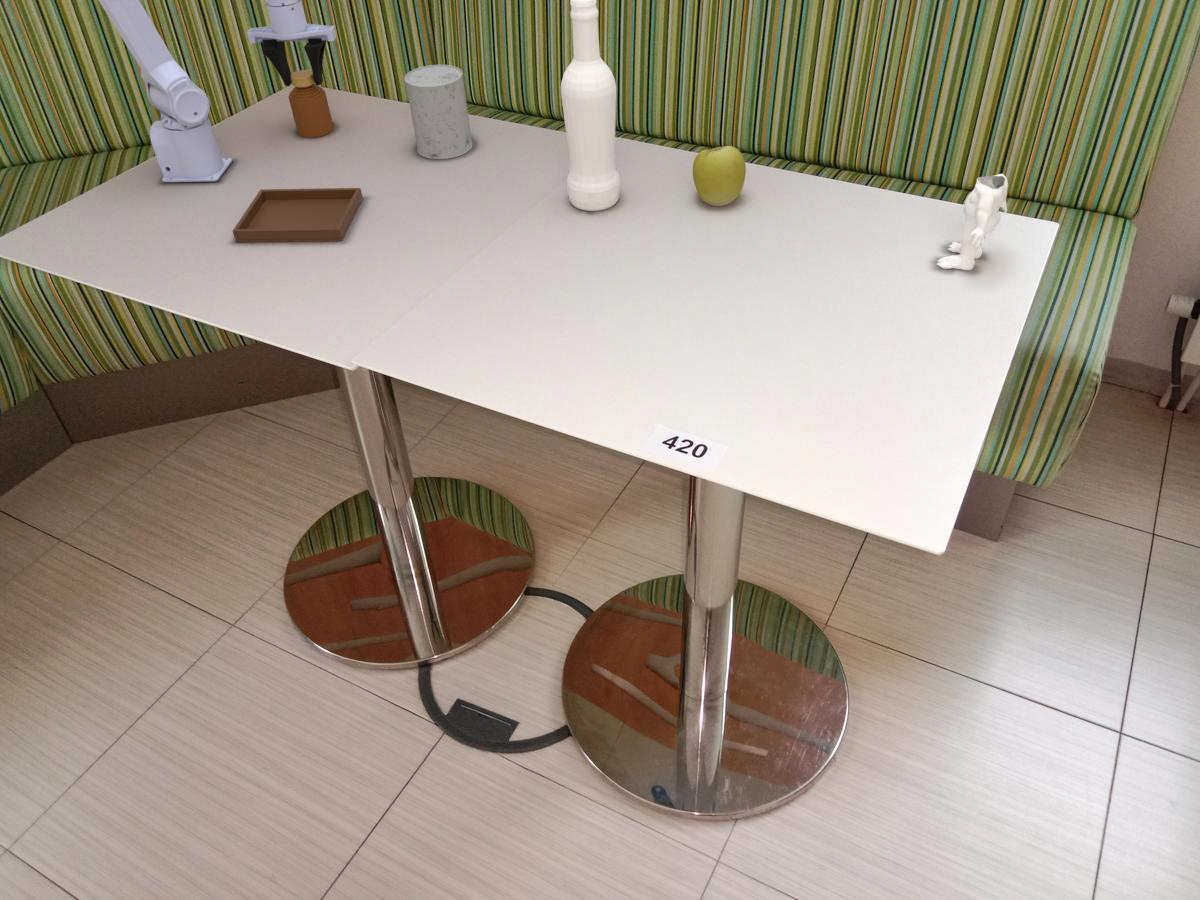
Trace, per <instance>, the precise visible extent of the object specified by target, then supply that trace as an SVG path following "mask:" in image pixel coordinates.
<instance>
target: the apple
mask: <svg viewBox="0 0 1200 900" xmlns="http://www.w3.org/2000/svg"><path fill="white" fill-rule="evenodd" d="M714 145H717V142H716V141H714ZM692 163H693V164H692V179H693V183H694V187H695V190H696V192H697V195H698V196H699V199H701V200H702V201H703V202H705V203H706V204H709V206H710V205H711V206H713V207H720V206H721V207H722V206H727V205H729V204H731V203H732V202H733V201H735V200H736V199H737V198H738V197H739V196H740V194H741V192H742V189H743V188H744V184H745V180H746V179H745V178H746V173H747V169H746V168H747V167H746V161H745V158H744V156H743V153H742V152H741V151H740V150H739V149H738V148H737V147H735V146H732V145H724V146H718V147H717V146H716V147H714V148H710V149H703V150H701V151H699V152H698V153H697V155H696V156H695V157H694V160H693V162H692Z"/></svg>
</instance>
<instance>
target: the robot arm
mask: <svg viewBox="0 0 1200 900" xmlns="http://www.w3.org/2000/svg"><path fill="white" fill-rule="evenodd" d="M97 1H98V2H99V4H100V6H101V7H102V9H103V10H104V12H105V13H106V14H107V16H108V18H109V20H110V21H111V23H112V25H113V26H114V28H115V29H116V31H117V32H118V34H119V36H120V37H121V39H122V41H123V42H124V44H125V46H126V47H127V48H128V51H129V52H130V54H131V56H132V57H133V58H134V60H135V62H136V63H137V64H138V66H139V68H140V77H141V79H142V81H143V82H144V85H145V89H146V95H147V99H148V101H149V103H150V104H151V105H152V107H153V108H155V109H156V110H158V111H159V113H160V120H155V121H153V122H152V124H151V126H150V131H149V135H150V144H151V147H152V149H153V152H154V155H155V157H156V160H157V163H158V165H159V168H160V172H161V174H162V178H161V181H162V183H196V182H197V183H200V182H201V183H202V182H203V183H204V182H206V183H207V182H208V183H209V182H217V181H219V179H220V178H221V177H222V175H223V174H224V173H225V172H226V170H227V169H228V168H229V166H230V165H231V164H232V162H233V157H222V154H221V151H220V148H219V146H218V142H217V139H216V135H215V133H214V129H213V127H212V124H211V120H210V118H209V114H210V108H211V104H210V103H211V102H210V100H209V99H210V98H209V97H208V95H207V94H206V92H205V91H204V90H203V89H201V88H200V87H199V86H198V85H196V84H195V83H194V82H193V81H192V79H191V78H190V76H189V75H188V73H187V72H186V71H185V70H184V69H183V68H182V66H180V64H179V63H178V62H177V61H176V60H175V59H174V57H173V55H172V54H171V52H170V50H169V48H168V47H167V45H166V44H165V42H164V40H163V38H162V36H161V34H160V33H159V32H158V30H157V29H156V27H155V24H153V21H152V20H151V18H150V17H149V14H148V13H147V11H146V9H145V8H144V7H143V5H142V3H141V2H140V0H97ZM264 2H265V6H266V9H267V13H268V17H269V19H270V20H269V21H270V25H266V26H261V27H260V26H259V27H250V28H249V29H248V30H247V31H246V34H247V38H248V41H249V44H257V43H262V47H261V52H262V53H263V55H264V56H265V57H266V58H267V59H268V60H269V61H270V62H271V64H272V65H273V66H274V68H275V69H276V71H277V73H278V74H279V76H280V78H281V80H282V82H283V84H284V86H285V87H290V85H291V84H292V81H291V76H290V75H291V74H292V72H291V68H290V65H289V61H288V56H287V51H286V43H285V42H306V41H307V43H305V45H304V47H303V49H304V51H305V53H306V56H307V58H308V62H309V64H310V67H311V71H312V72H313V77H314V81H315V83H314V84H315V85H317V86H321V84H322V83H323V81H324V80H323V62H324V54H325V50H326V46H327V42H335V40H336V39H337V38H338V36H337V32H336V27H335V25H324V24H314V23H308V21H307V18H306V13H305V9H304V5H303V0H264Z"/></svg>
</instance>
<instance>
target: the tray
mask: <svg viewBox="0 0 1200 900" xmlns="http://www.w3.org/2000/svg"><path fill="white" fill-rule="evenodd" d="M363 200H364V197H363V193H362V189H361V187H336V188H334V187H333V188H331V187H328V188H327V187H326V188H271V189H270V188H268V189H267V188H266V189H265V188H264V189H263V188H261V189H260V190H259V191H258V192H257V194H256V196H255V197H254V198H253V200H252V201H251V203H250V204H249V206H248V207H247V208H246V210H245V212H244V213H243V215H242V216H241V218H240V219H239V220H238V222H237V223H236V225H235V227H234V228H233V230H232V234H233V237H234V240H235V243H293V242H295V243H296V242H299V243H300V242H343V239H344V237H345V236H346V234H347V232H348V230H349V228H350V226H351V223H352V221H353V220H354V218H355V216H356V213H357V212H358V210H359V207H360V206H361V203H362V202H363Z"/></svg>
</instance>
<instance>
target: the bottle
mask: <svg viewBox="0 0 1200 900" xmlns="http://www.w3.org/2000/svg"><path fill="white" fill-rule="evenodd" d="M597 3H598V1H597V0H570V1H569V4H570V6H571V9H570V15H569V16H570V19H571V31H572V32H571V33H572V53H573V54H572V57H573V58H572V60H571V62H570V64H569V65H567V67H566V69H565V70H564V72H563V74H562V75H563V76H562V79H561V83H560V98H561V104H562V112H563V120H564V121H563V122H564V127H565V136H566V143H567V150H568V158H569V159H568V160H569V172H568V174H567V179H566V188H567V189H566V190H567V195H568V199H569V202H570V203H571V205H572V206H573V207H575V208H576V209H578V210H582V211H587V212H598V211H603V210H607V209H609V208H612V207H613V206H614V205H615V204H616V203H617V202H618V200H619V198H620V194H621V193H620V192H621V178H620V174H619V172H618V170H617V167H616V166H617V165H616V155H615V154H616V120H617V119H616V115H617V84H616V79H615V77H614V74H613V72H612V70H611V68H610V67H609V66H608V65H607V63H606V62H605V61H604V60H603V59H602V57H601V51H600V37H599V22H598V18H599V10H598V8H597V7H598V6H597Z"/></svg>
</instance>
